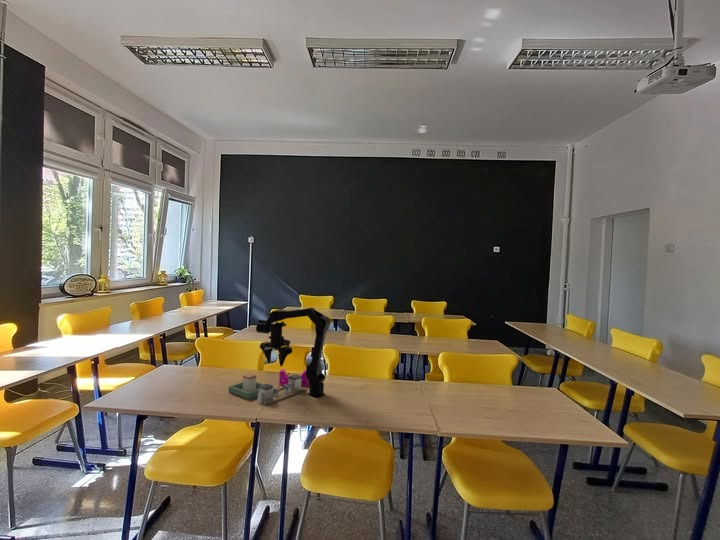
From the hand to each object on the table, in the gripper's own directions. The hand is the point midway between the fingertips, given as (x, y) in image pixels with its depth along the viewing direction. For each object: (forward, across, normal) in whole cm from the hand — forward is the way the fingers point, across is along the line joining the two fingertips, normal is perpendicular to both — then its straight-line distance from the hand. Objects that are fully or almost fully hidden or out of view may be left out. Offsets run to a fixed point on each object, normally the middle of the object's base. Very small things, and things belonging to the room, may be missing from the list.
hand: (275, 364), depth 186 cm
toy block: (+13, -2, -12) cm, 18 cm away
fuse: (+12, +5, +12) cm, 17 cm away
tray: (+12, +5, +12) cm, 18 cm away
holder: (+12, -9, +4) cm, 16 cm away
